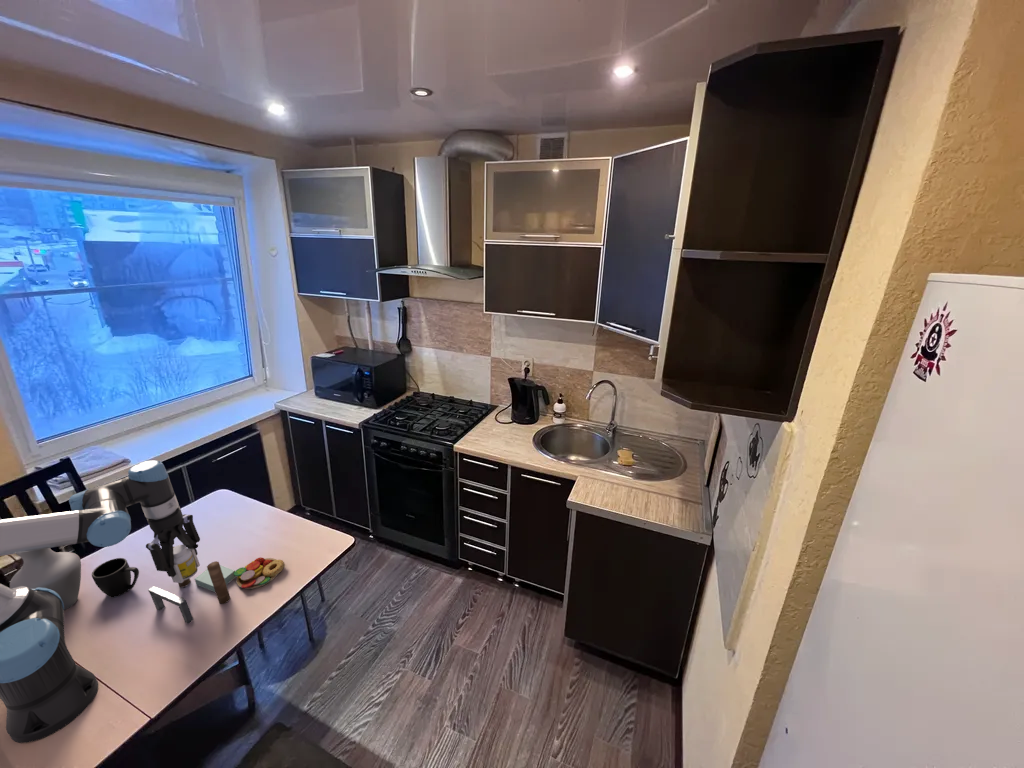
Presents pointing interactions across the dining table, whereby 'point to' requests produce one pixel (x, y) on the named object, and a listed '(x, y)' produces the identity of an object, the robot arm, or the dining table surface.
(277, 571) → the toy food set
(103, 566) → the mug
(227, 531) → the dining table surface
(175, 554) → the supplement bottle
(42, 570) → the vase
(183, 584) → the post far
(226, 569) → the stand
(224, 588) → the post near
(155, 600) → the rail hurdle
